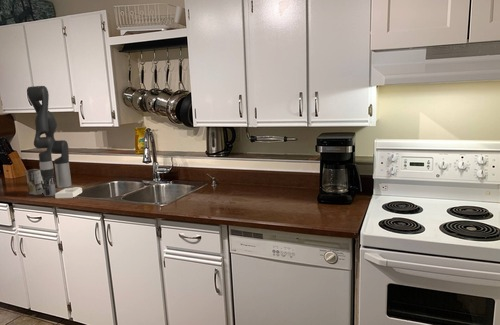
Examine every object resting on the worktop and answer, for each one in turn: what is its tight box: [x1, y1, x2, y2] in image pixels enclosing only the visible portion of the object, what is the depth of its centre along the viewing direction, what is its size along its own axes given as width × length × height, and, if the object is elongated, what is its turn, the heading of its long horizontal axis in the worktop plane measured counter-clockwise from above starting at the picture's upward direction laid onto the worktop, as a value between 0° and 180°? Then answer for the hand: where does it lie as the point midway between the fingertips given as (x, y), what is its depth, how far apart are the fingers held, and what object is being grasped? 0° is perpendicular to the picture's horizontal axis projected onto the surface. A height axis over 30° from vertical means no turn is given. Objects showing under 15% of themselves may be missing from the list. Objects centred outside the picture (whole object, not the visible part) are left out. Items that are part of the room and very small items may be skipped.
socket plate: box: [54, 186, 83, 199], centre depth 242 cm, size 14×11×4 cm
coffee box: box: [25, 168, 44, 196], centre depth 248 cm, size 9×6×16 cm
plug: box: [43, 183, 57, 197], centre depth 241 cm, size 5×5×7 cm
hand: (50, 193), depth 241 cm, fingers closed on plug, 5 cm apart
